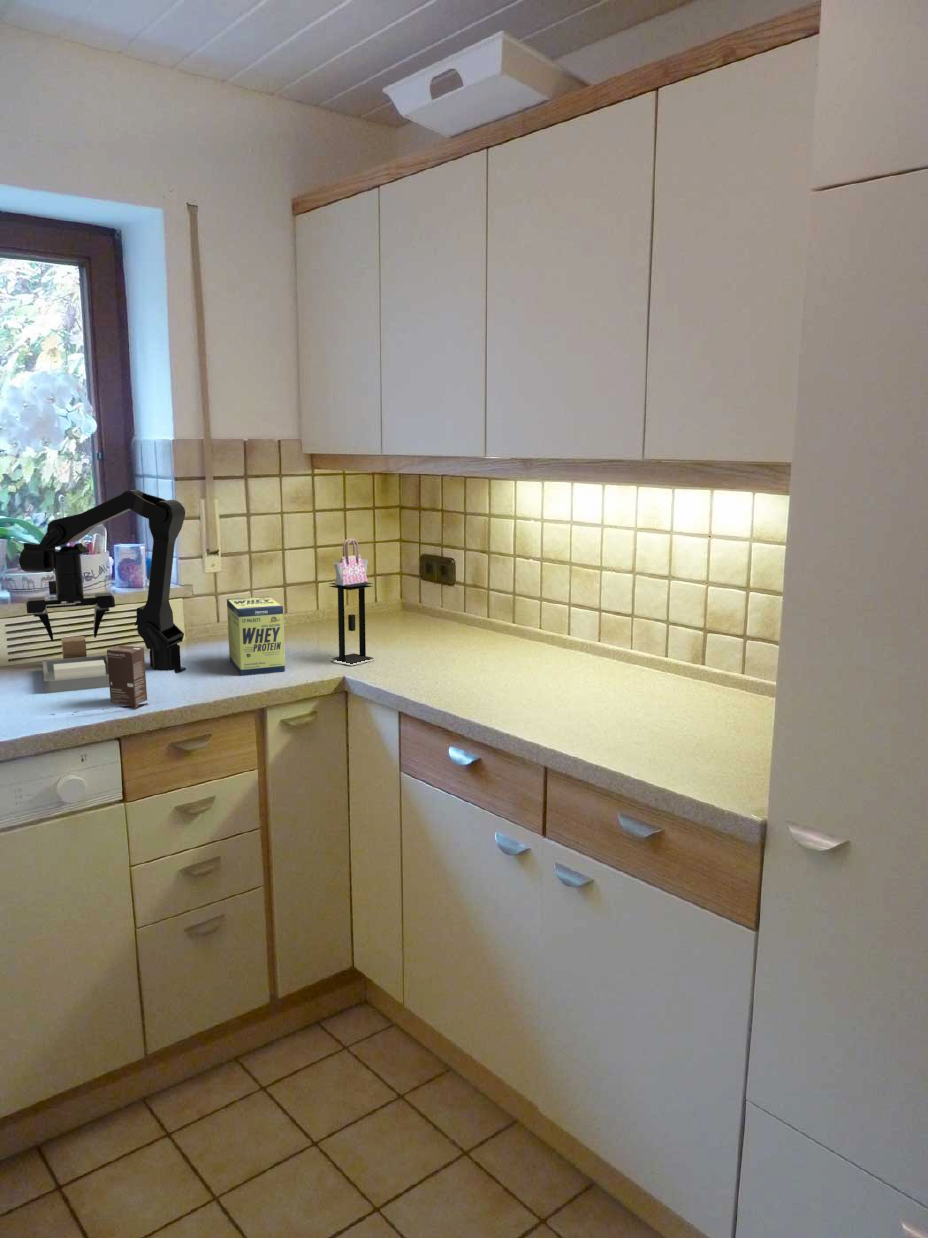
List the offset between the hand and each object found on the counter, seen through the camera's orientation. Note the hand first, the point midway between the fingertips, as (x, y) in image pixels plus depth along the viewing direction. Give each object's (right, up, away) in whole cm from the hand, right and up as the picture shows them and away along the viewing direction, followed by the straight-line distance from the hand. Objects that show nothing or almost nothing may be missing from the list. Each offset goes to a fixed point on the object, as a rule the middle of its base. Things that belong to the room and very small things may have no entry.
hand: (73, 639), depth 216 cm
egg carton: (+9, -9, -17) cm, 22 cm away
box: (+23, -13, -29) cm, 39 cm away
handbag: (+64, -6, +9) cm, 65 cm away
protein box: (+42, -7, +4) cm, 43 cm away
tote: (+6, -9, -12) cm, 16 cm away
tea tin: (0, -7, +1) cm, 7 cm away
